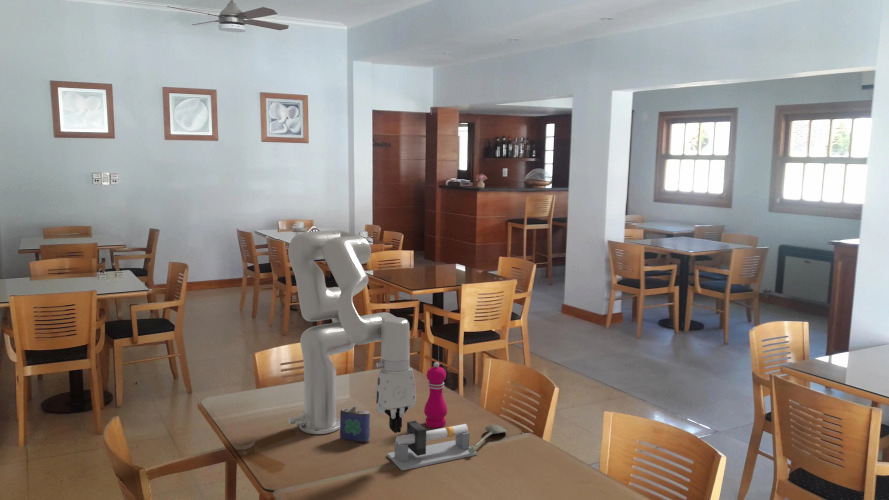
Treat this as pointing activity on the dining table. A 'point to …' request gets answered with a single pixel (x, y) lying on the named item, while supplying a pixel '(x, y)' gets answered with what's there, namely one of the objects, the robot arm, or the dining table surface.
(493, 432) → the soupspoon
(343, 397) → the dining table surface
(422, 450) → the collar
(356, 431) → the flask
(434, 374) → the pepper mill
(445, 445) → the rail
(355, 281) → the robot arm
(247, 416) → the dining table surface
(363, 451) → the dining table surface
